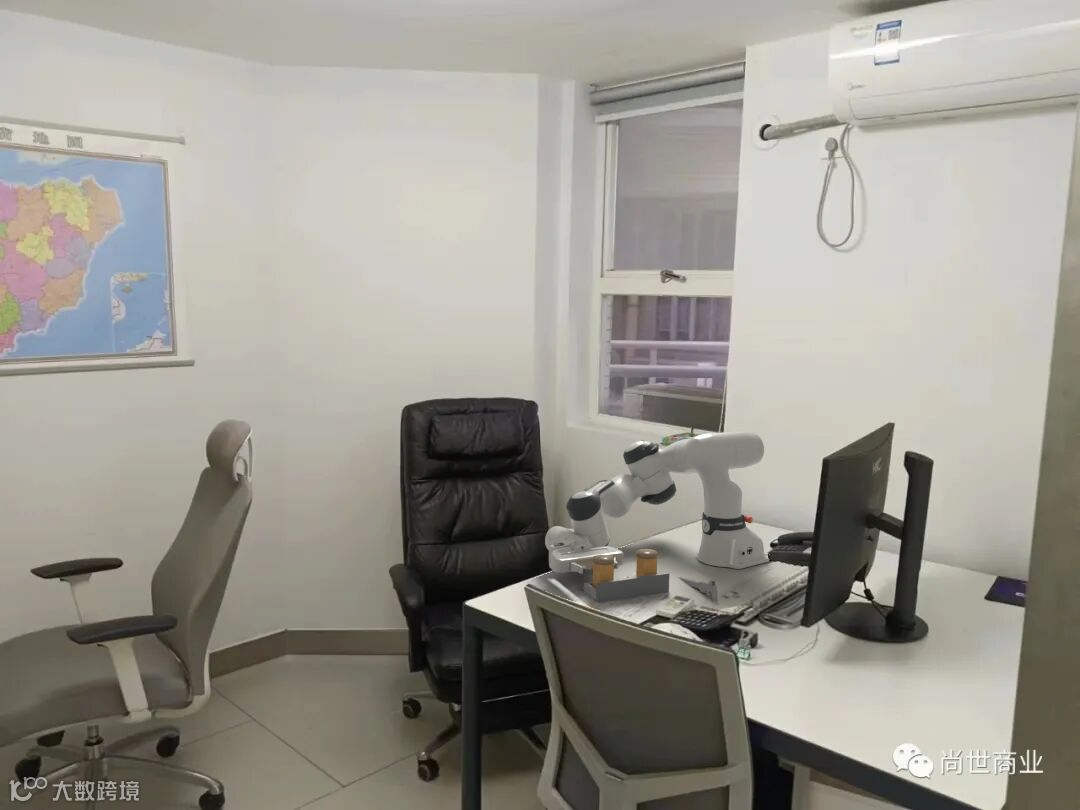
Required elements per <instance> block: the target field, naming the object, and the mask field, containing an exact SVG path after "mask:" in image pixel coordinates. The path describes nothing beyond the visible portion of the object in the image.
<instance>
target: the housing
mask: <svg viewBox="0 0 1080 810" xmlns="http://www.w3.org/2000/svg"><path fill="white" fill-rule="evenodd" d="M581 591H582V592H583V593H584V594H585V595H587V596H588V597H590V598H591V599H592V600H594V601H595V602H597V604H599V603H605V602H611V601H613V602H614V601H617V600H618V601H619V600H626V599H631V598H637V597H639V598H640V597H644V596H652V595H656V594H663V593H669V592H670V573H669V572H667V571H666V572H660V573H659V572H658V573H657V574H652V575H645V576H638V577H636V574H635V575H627V576H626V578H620V579H614V580H611V581H604V582H597V583H596V588H594V587H593V580H592V581H586V582H583V589H581Z"/></svg>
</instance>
